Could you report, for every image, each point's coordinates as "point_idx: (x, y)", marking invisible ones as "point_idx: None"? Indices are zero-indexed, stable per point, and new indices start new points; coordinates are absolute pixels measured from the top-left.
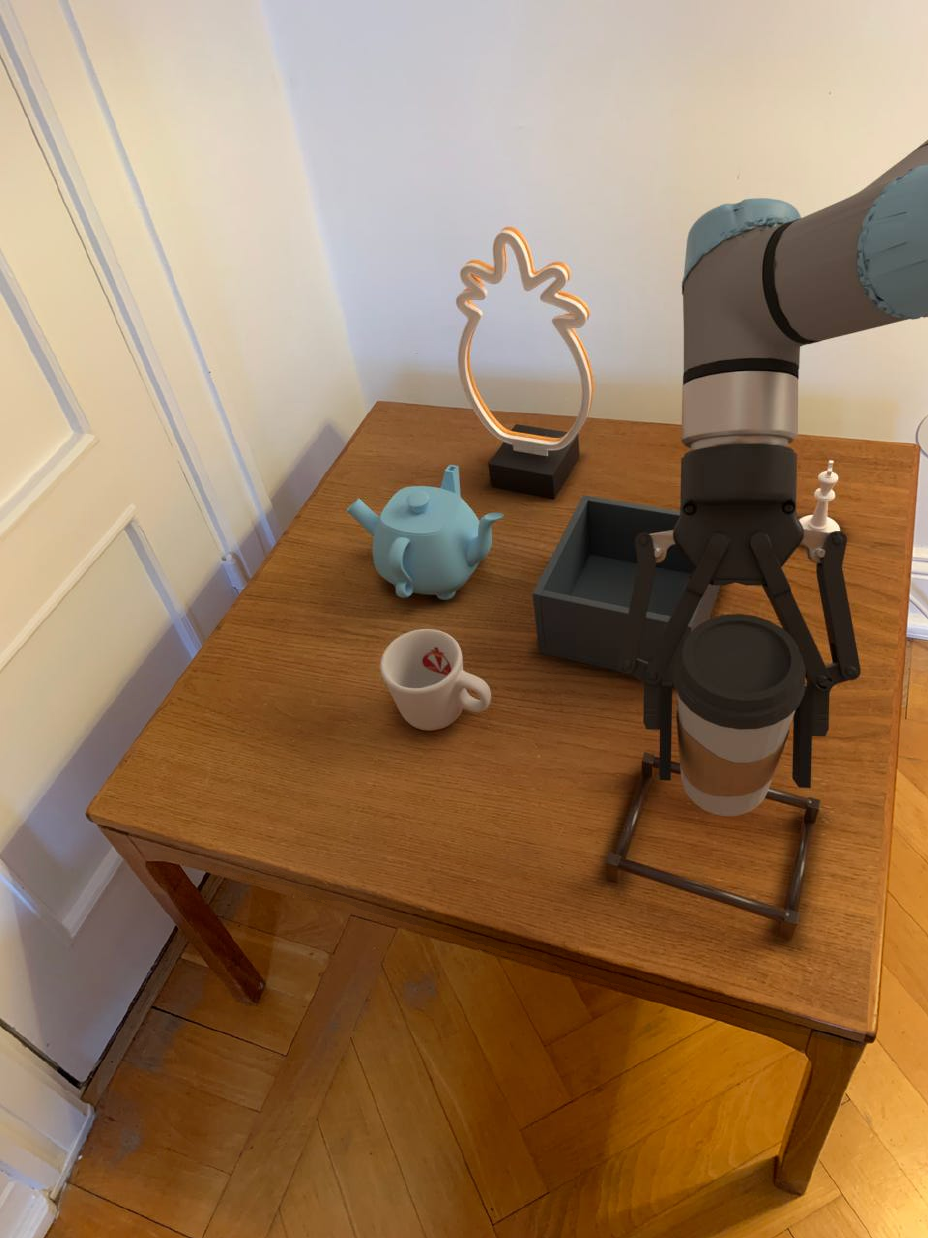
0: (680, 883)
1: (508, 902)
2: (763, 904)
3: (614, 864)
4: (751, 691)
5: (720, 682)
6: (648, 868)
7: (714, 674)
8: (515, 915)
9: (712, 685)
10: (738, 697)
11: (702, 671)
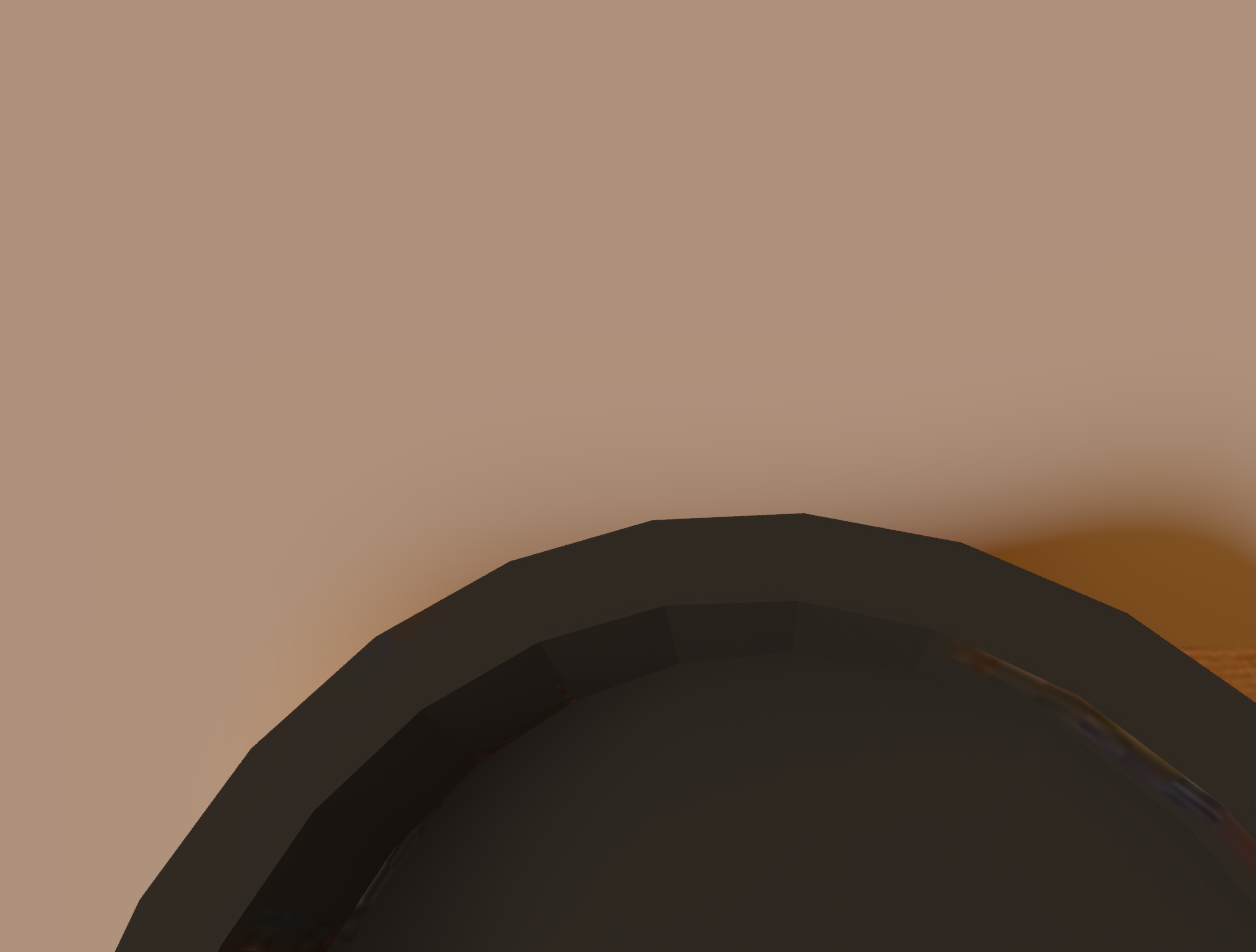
0: None
1: (1249, 697)
2: None
3: None
4: (595, 780)
5: (910, 765)
6: None
7: (1009, 844)
8: (1210, 669)
9: (982, 639)
10: (694, 550)
11: (1165, 865)
